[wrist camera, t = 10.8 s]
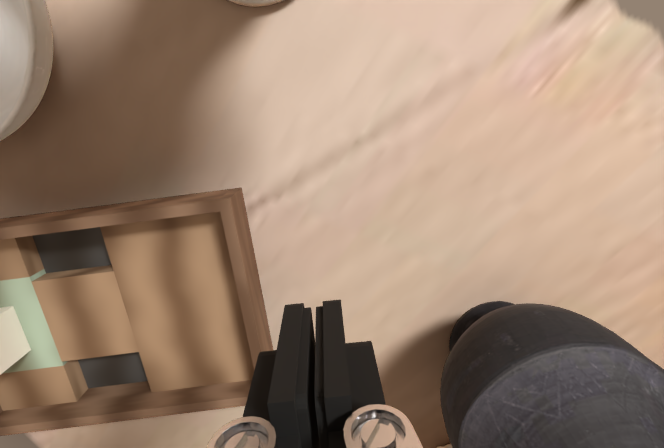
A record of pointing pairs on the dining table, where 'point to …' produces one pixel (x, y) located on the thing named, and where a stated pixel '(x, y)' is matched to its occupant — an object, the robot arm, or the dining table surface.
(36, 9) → the serving bowl
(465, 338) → the pitcher
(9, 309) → the block
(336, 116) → the dining table surface
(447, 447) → the mug
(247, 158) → the dining table surface
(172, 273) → the trap box
